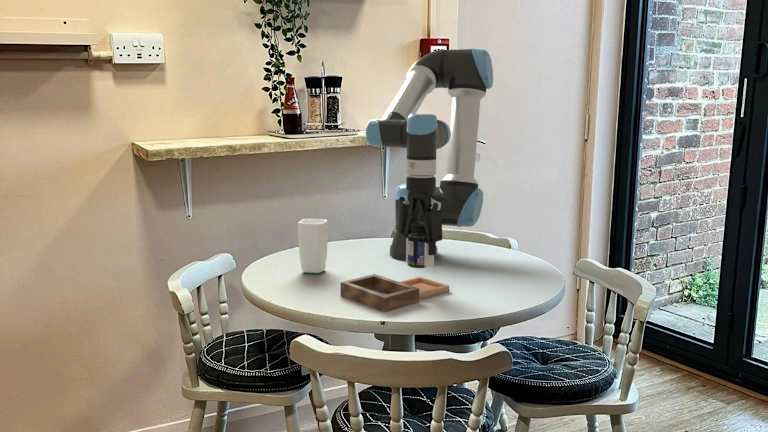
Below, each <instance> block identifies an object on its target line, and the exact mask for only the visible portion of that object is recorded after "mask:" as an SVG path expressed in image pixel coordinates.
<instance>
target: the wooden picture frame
mask: <svg viewBox="0 0 768 432" xmlns="http://www.w3.org/2000/svg"><path fill="white" fill-rule="evenodd" d="M339 286H340V296H342V297H344V298H347V299H349V300H351V301H354V302H357V303H358V304H359V303H360V304H361V305H362V304H363V305H365V306H367V307H370V308H373V309H374V310H375V309H376V310H377V311H380V312H384V313H386V312H389V311H393V310H396V309H400V308H403V307H407V306H410V305H414V304H418V303H420V300H419V288H416V287H413V286H410V285H407V284H404V283H401V281H398V280H396V279H391V278H388V277H385V276H381V275H378V274H376V273H374V274H373V273H372V274H370V275H365V276H360V277H356V278H353V279H349V280H344V281H340V285H339ZM375 290H376V291H375ZM380 292H381V293H380ZM383 293H384V294H383Z"/></svg>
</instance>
